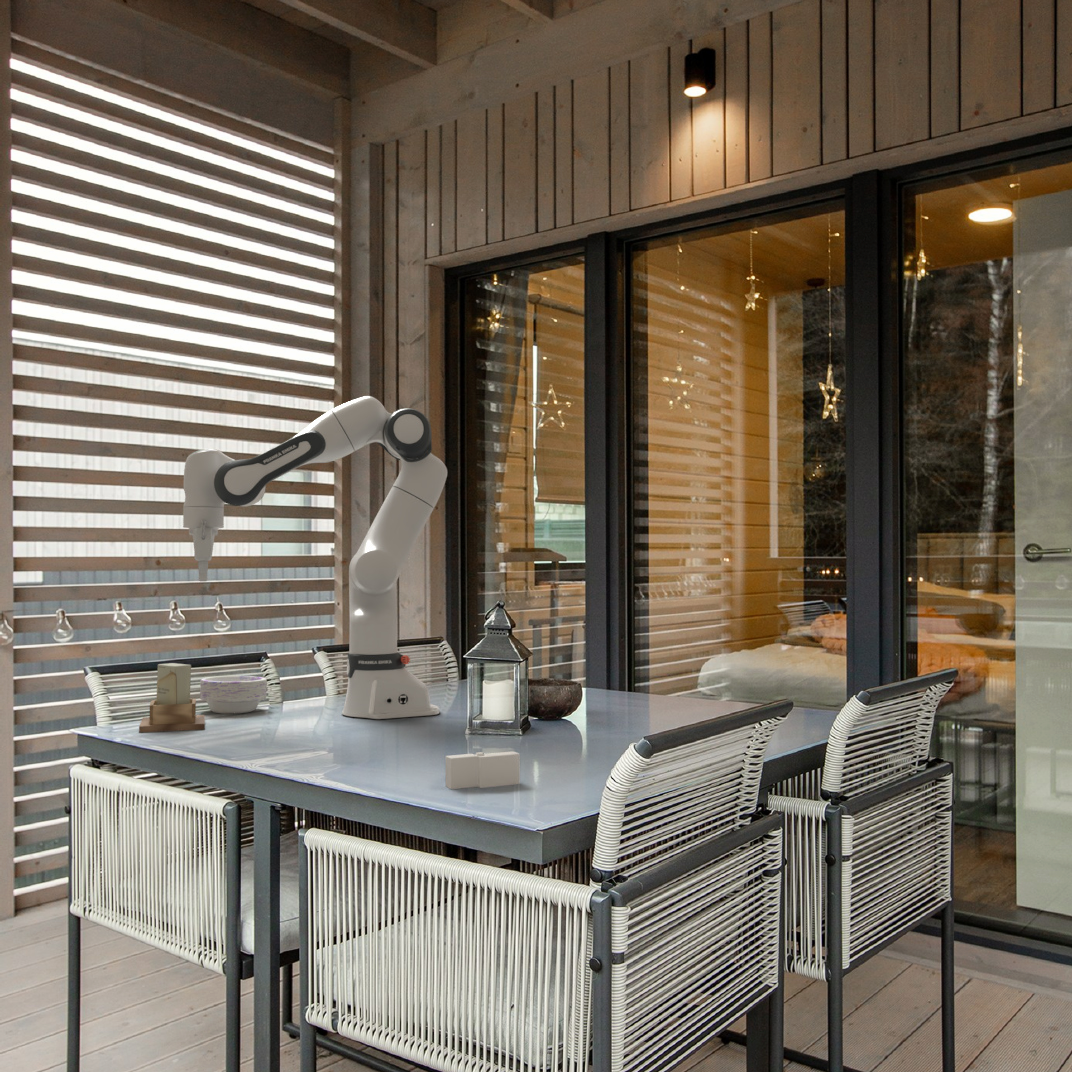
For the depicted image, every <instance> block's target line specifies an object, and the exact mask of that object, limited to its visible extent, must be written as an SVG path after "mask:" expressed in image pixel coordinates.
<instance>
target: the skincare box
mask: <svg viewBox="0 0 1072 1072" xmlns="http://www.w3.org/2000/svg"><path fill="white" fill-rule="evenodd" d="M191 675H192V664H184V663H177V662H169V663H159V664H157V675H156V676H157V677H156V678H157V681H156V700H157V701H156V705H171V704H190V699H191V679H192V676H191Z"/></svg>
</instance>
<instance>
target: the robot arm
mask: <svg viewBox="0 0 1072 1072" xmlns="http://www.w3.org/2000/svg"><path fill="white" fill-rule="evenodd" d="M432 435H433V434H432V426H431V423H430V420H429V419H428V417H427V416H426V415H425V414H424V413H423V412H421V411H420V410H417V409H415V408H409V407H406V408H400V409H397V410H396V411H393V413H391V412H389V411H388V410H386V408H385V406H384V405H383V403H381V401H379V399H377V398H376V397H374V396H371V395H364V396H361V397H358V398H355V399H352V400H350V401H347V402H344V403H342V404H341V405H337V406H336V407H334V408H332V409H329V411H326V412H324V413H323V414H322V415H321V416H319V417H316V419H314V420H313V421H312V422H310V423H309V424H308V425H307V426H306V427H304V428H303V429H302V430H300V432H298V433H297V434H295V435H294V436H292V437H291V438H289V439H288V440H286V441H284V442H282V443H280V444H279V445H277V446H275V447H272V448H270V449H268V450H266V451H265V452H262V453H260V454H259V455H256V456H255V457H251V458H245V459H243V458H242V459H234V458H231V457H229V455H226V454H224V453H223V452H222V451H221V450H219V449H215V448H214V449H213V448H211V449H209V448H208V449H201V450H196V451H193V452H191V453H190V454H189V455H188V456H187V458H186V460H185V462H184V463H185V464H184V470H183V471H184V473H183V490H184V495H185V497H184V503H183V508H182V511H183V512H182V513H183V514H182V515H183V518H182V525H183V528H185V529H188V535H189V536H192V541H193V550H194V552H193V553H194V554H193V555H194V556H193V557H194V560H195V561H197V563H198V564H197V569H198V580H199V582H207V581H208V570H209V569H208V568H209V562H210V561H211V560H212V558H213V552H214V551H213V550H214V543H215V536H218V535H219V529H223V528H224V524H225V523H224V522H225V521H224V518H225V516H224V514H225V513H224V512H225V510H224V508H225V507H224V505H225V504H228V505H229V506H234V507H251V506H254V505H256V504H257V503H258V502H260V501H261V500H262V499H263V497H264V495H266V490H267V485H268V484H270V483H271V482H272V481H275V480H276V479H278V478H280V477H282V476H284V475H286V474H287V473H289V472H291V471H293V470H295V469H297V468H300V467H302V466H304V465H310V464H317V463H321V464H323V463H324V464H325V463H330V462H334V461H337V460H339V459H342V458H345V457H346V456H348V455H351V454H352V453H354V452H356V451H358V450H359V449H362V448H363V447H365V446H367V445H369V444H372V443H377V444H378V445H379V446H380V447H381V448H382V449H384V451H385V452H387V453H388V455H390V456H391V457H392V458H394V459H396V460H398V461H400V463H401V464H400V465H401V467H400V471H399V473H398V476H397V477H396V480H395V481H394V483H393V485H392V487H391V488H390V490H389V492H388V494H387V496H386V498H385V499H384V500H383V503H382V505H381V507H380V508H379V510H378V512H377V514H376V516H375V517H374V519H373V522H372V523H371V525H370V527H369V529H368V530H367V533H366V534H365V537H364V539H363V541H362V542H361V544H360V546H359V548H358V550H357V551H356V553H355V554H354V555H353V557H352V559H351V560H350V563H349V567H348V588H349V589H348V590H349V591H348V592H349V594H348V595H349V596H348V597H349V598H348V599H349V603H348V604H349V605H348V606H349V629H348V630H349V639H348V640H349V647H348V648H349V650H348V651H349V652H348V653H347V658H346V675H347V678H348V679H347V689H346V696H345V700H344V701H345V702H344V705H343V709H342V711H341V715H344V716H346V717H352V718H353V717H354V718H366V719H374V720H382V719H383V720H384V719H397V718H398V719H399V718H409V717H423V716H435V715H438V714H440V712H441V711H440V707H439V706H438V705H435V704H432V703H431V698H430V692H429V690H428V686H427V685H426V684H425V683H424V682H423V681H422V680H421V679H419V678H418V677H417V676H415V675H414V674H413V673H412V672H410V671H409V670H408V669H406V668H405V667H406V665H409V664H410V662H411V657H410V656H409V655H406V654H405V655H403V654H402V653H400V652H398V613H397V611H398V609H397V585H396V584H397V583H396V582H398V580H399V577H400V576H401V573H402V571H403V570H404V568H405V565H406V563H407V561H408V559H409V557H410V555H411V553H412V551H413V549H414V547H415V545H416V544H417V540H418V538H419V537H420V535H421V533H422V531H423V530H424V527H425V526H426V523H428V521H429V518H430V517H431V515H432V512H433V511H434V509H435V507H436V506H437V503H438V502H439V499H440V497H441V494H442V492H443V490H444V487H445V483H446V481H447V477H448V468H447V466H446V465H445V463H444V462H443V461H442V460H441V459H440V458H439V457H437V456H436V455H435V454H433V453H432V451H433V444H432V443H433V442H432V441H433V440H432V438H433V437H432Z"/></svg>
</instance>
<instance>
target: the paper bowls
mask: <svg viewBox="0 0 1072 1072" xmlns="http://www.w3.org/2000/svg"><path fill="white" fill-rule="evenodd" d="M267 681H268V680H267V678H266V677H262V676H253V675H222V676H221V675H219V676H218V675H217V676H211V677H210V676H209V677H204V678H201V679H200V687H199V688H200V689H199V693H200V694H199V696H200V697H199V699H200V700H201V701H205V702H206V703H207V705H208V708H209V709H210V711H211V712H213V713H216V714H221V715H222V714H224V715H236V714H247V713H251V712H253V711H256V709H257V708H258V705H259V703H260V701H263V700H266V699H267V688H268V687H267V684H268V682H267Z"/></svg>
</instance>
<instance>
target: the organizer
mask: <svg viewBox="0 0 1072 1072" xmlns="http://www.w3.org/2000/svg"><path fill="white" fill-rule="evenodd" d="M156 701H157V699H153V700H152V699H151V701H150V704H149V716H148V717H144V716H143V717H142V718H141V721H140V724H139V727H138V730H139V731H138V732H139V733H153V732H154V733H155V732H174V731H175V732H177V731H179V732H180V731H197V730H205V725H206V723H205V721H206V720H205V717H206V715H205V714H196V711H197V709H196V707H197V706H196V705H197V702H196V701H197V699H196V698H190V704H171V705H156Z"/></svg>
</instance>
